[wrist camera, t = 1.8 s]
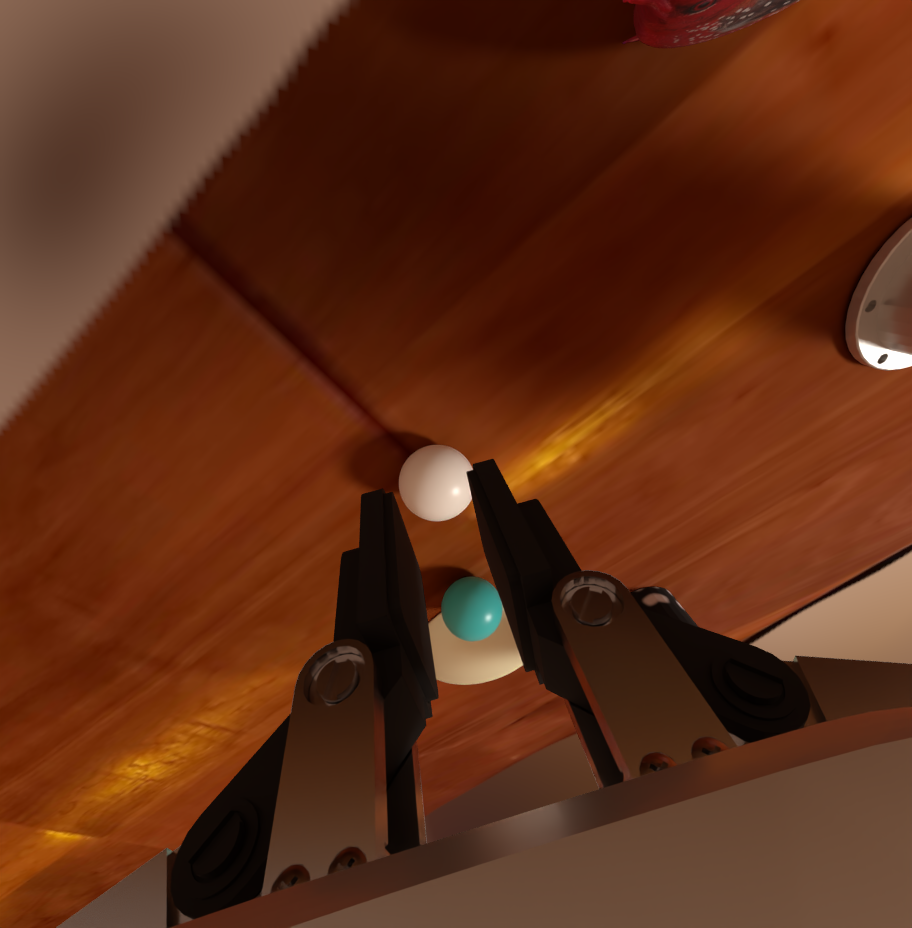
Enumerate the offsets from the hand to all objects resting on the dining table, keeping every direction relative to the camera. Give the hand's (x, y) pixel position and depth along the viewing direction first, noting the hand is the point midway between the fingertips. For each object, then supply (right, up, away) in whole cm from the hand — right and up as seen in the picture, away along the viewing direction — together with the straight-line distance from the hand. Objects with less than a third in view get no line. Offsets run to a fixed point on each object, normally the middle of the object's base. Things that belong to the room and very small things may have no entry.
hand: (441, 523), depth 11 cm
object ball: (+2, -11, +26) cm, 29 cm away
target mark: (+3, -18, +33) cm, 38 cm away
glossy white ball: (-1, 0, +19) cm, 19 cm away
